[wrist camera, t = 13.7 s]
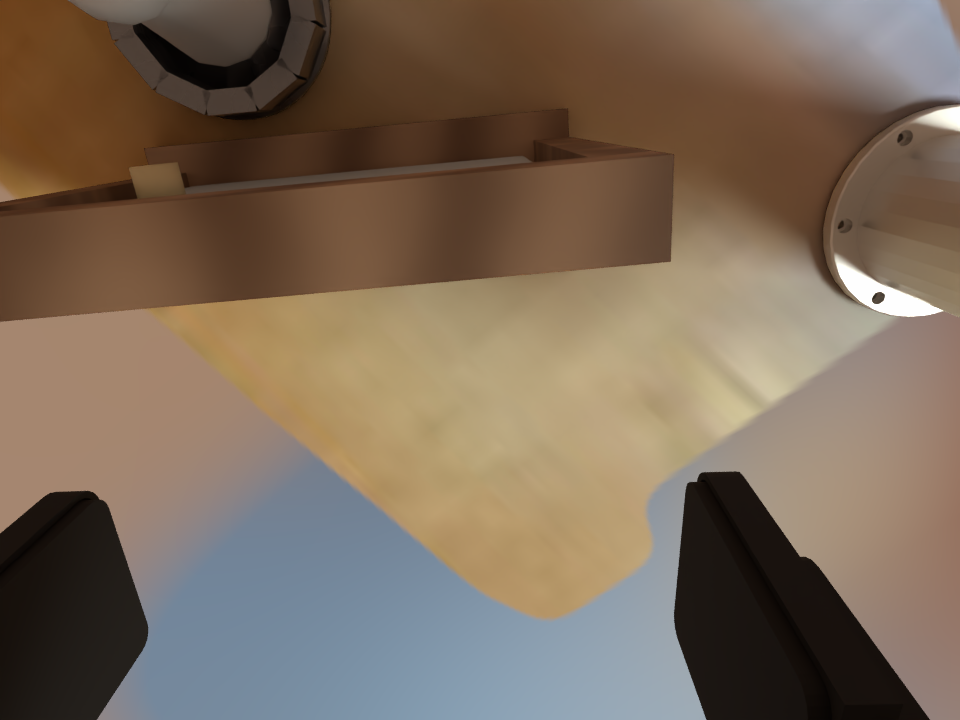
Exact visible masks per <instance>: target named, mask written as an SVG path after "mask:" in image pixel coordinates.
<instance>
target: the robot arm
mask: <svg viewBox="0 0 960 720" xmlns="http://www.w3.org/2000/svg"><path fill="white" fill-rule="evenodd" d="M897 138H898V139H897ZM839 223H840V225H839ZM838 225H839V226H838ZM823 249H824V253H825V257H826V262H827V266H828V268H829V270H830V272H831V274H832V276H833V278H834V280H835V282H836V283H837V284H838V285H839V287H840V288H841V289H842V290H843V291H844V293H845V294H847V295H848V296H849V297H851V298H852V299H853V300H855V301H856V302H857V303H859V304H861V305H863V306H865V307H867V308H869V309H871V310H873V311H877V312H880V313H883V314H886V315H889V316H899V317H916V316H926V315H930V314H934V313H938V312H942V311H945V312H947V313H950V314H953V315H955V316H957V317H960V104H957V105H947V106H936V107H933V108H930V109H926V110H923V111H919V112H916V113H914V114H911V115H909V116H907V117H905V118H903V119H901V120H899V121H897V122H895V123H893V124H892V125H891V126H889V127H888V128H886V129H885V130H883V131H882V132H881V133H879V134H878V135H876V136H875V137H874V138H873V139H872V140H871V141H870V142H869V143H868V144H867V145H866V146H865V147H864V148H863V149H861V150H860V151H859V152H858V154H857V155H856V156H855V158H854V159H853V160H852V161H851V163H850V164H849V165H848V167H847V168H846V169H845V170H844V172H843V174H842V176H841V178H840V180H839V181H838V183H837V185H836V187H835V189H834V191H833V193H832V196H831V199H830V202H829V205H828V207H827V210H826V216H825V222H824V228H823ZM674 623H675V630H676V634H677V638H678V641H679V644H680V647H681V650H682V652H683V655H684V658H685V661H686V663H687V666H688V669H689V672H690V675H691V678H692V680H693V683H694V686H695V689H696V692H697V694H698V697H699V700H700V703H701V706H702V708H703V711H704V714H705V717H706V719H707V720H930V719H929V718H928V717H927V715H926V714H925V712H924V711H923V710H922V708H921V707H920V705H919V704H918V703H917V701H916V700H915V699H914V697H913V696H912V695H911V693H910V692H909V690H908V689H907V688H906V686H905V685H904V684H903V682H902V681H901V680H900V678H899V677H898V675H897V674H896V673H895V671H894V670H893V668H892V667H891V666H890V664H889V663H888V662H887V660H886V659H885V657H884V656H883V655H882V653H881V652H880V651H879V649H878V648H877V646H876V645H875V644H874V642H873V641H872V640H871V638H870V637H869V635H868V634H867V633H866V631H865V630H864V629H863V627H862V626H861V624H860V623H859V622H858V620H857V619H856V618H855V616H854V615H853V614H852V612H851V611H850V609H849V608H848V607H847V605H846V604H845V603H844V601H843V600H842V598H841V597H840V596H839V594H838V593H837V591H836V590H835V589H834V587H833V586H832V585H831V584H830V582H829V581H828V579H827V578H826V576H825V575H824V574H823V572H822V571H821V570H820V568H819V567H818V566H817V565H816V564H815V563H814V562H813V561H812V560H811V559H809V558H807V557H800V556H799V555H798V553H797V552H796V550H795V549H794V548H793V546H792V545H791V543H790V542H789V540H788V539H787V538H786V536H785V535H784V533H783V532H782V530H781V529H780V528H779V526H778V525H777V523H776V522H775V521H774V519H773V518H772V516H771V515H770V514H769V512H768V511H767V509H766V508H765V506H764V505H763V503H762V502H761V501H760V499H759V498H758V496H757V495H756V493H755V492H754V491H753V489H752V488H751V487H750V485H749V483H748V482H747V481H746V479H745V478H744V477H743V475H742V474H741V473H740V472H704V473H701V474H700V475H699V477H698V480H697V482H689V483H688V484H687V487H686V493H685V503H684V514H683V525H682V535H681V546H680V557H679V567H678V577H677V588H676V599H675V610H674ZM147 637H148V624H147V621H146V618H145V615H144V612H143V609H142V606H141V603H140V600H139V597H138V594H137V591H136V588H135V585H134V582H133V579H132V576H131V573H130V570H129V567H128V564H127V561H126V558H125V555H124V552H123V549H122V546H121V543H120V540H119V537H118V534H117V532H116V528H115V525H114V522H113V519H112V516H111V513H110V510H109V507H108V505H107V504H106V503H105V502H104V501H103V500H99V498H98V496H97V495H96V494H94V493H93V492H90V491H71V492H54V493H49V494H48V495H46V496H45V497H43V498H42V499H41V500H40V501H39V502H37V503H36V504H35V505H34V506H33V507H31V508H30V509H29V510H28V511H27V512H26V513H24V514H23V515H22V516H21V517H20V518H18V519H17V520H16V521H15V522H13V523H12V524H11V525H10V526H9V527H8V528H6V529H5V530H4V531H3V532H2V533H0V720H97V719H98V717H99V715H100V714H101V712H102V711H103V709H104V708H105V706H106V705H107V703H108V702H109V700H110V699H111V697H112V696H113V694H114V693H115V691H116V690H117V688H118V687H119V685H120V684H121V682H122V681H123V679H124V678H125V676H126V675H127V673H128V672H129V670H130V669H131V667H132V665H133V664H134V662H135V661H136V659H137V658H138V656H139V655H140V653H141V652H142V650H143V648H144V647H145V644H146V641H147Z"/></svg>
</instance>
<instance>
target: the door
mask: <svg viewBox="0 0 960 720" xmlns="http://www.w3.org/2000/svg"><path fill="white" fill-rule="evenodd" d="M530 162H532V161H530V160H528V159H527V158H525V157H524V156H513V157H503V158H492V159H481V160H470V161H460V162H449V163H438V164H427V165H416V166H406V167H395V168H384V169H373V170H362V171H352V172H341V173H330V174H319V175H308V176H298V177H287V178H276V179H265V180H255V181H244V182H233V183H222V184H211V185H201V186H191V187H187V188H184V184H183V181H182V177H181V173H180V169H179V165H178V162H174V163H163V164H153V165H143V166H135V167H129V171H130V174H131V178H132V181H133V185H134V188H135V191H136V195H137V198H138V199H141V198H152V197H162V196H173V195H184V194H195V193H206V192H216V191H227V190H238V189H249V188H260V187H270V186H281V185H292V184H303V183H314V182H325V181H335V180H346V179H357V178H368V177H379V176H389V175H400V174H411V173H422V172H433V171H443V170H454V169H465V168H476V167H487V166H498V165H508V164H519V163H530Z"/></svg>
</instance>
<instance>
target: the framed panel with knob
mask: <svg viewBox="0 0 960 720" xmlns="http://www.w3.org/2000/svg"><path fill="white" fill-rule="evenodd" d="M144 150H145V154H146V157H147V161H148V165H153V164H163V163H174V162H178V165H179V169H180V173H181V177H182V181H183V184H184V188H187V187H191V186H201V185H211V184H222V183H233V182H244V181H255V180H265V179H276V178H287V177H298V176H308V175H319V174H330V173H341V172H352V171H362V170H373V169H384V168H395V167H406V166H416V165H427V164H438V163H449V162H460V161H470V160H481V159H492V158H503V157H513V156H524V157H525V158H527V159H528V160H530V161H532V162H530V163H519V164H508V165H498V166H487V167H476V168H465V169H454V170H443V171H433V172H422V173H411V174H400V175H389V176H379V177H368V178H357V179H346V180H335V181H325V182H314V183H303V184H292V185H281V186H270V187H260V188H249V189H238V190H227V191H216V192H206V193H195V194H184V195H173V196H162V197H152V198H141V199H138V198H137V195H136V191H135V188H134V185H133V181H132V179H131V180H125V181H120V182H114V183H108V184H102V185H97V186H91V187H85V188H79V189H74V190H68V191H62V192H56V193H51V194H45V195H39V196H34V197H28V198H22V199H16V200H11V201H5V202H0V321H12V320H23V319H34V318H46V317H57V316H66V315H67V316H68V315H79V314H90V313H101V312H112V311H124V310H135V309H146V308H157V307H169V306H180V305H191V304H202V303H213V302H225V301H236V300H247V299H258V298H269V297H281V296H292V295H303V294H314V293H325V292H337V291H348V290H359V289H370V288H381V287H392V286H404V285H415V284H426V283H437V282H448V281H460V280H471V279H482V278H493V277H504V276H516V275H527V274H538V273H549V272H560V271H572V270H583V269H594V268H605V267H616V266H628V265H639V264H650V263H661V262H671V235H672V204H673V173H674V154H668V153H662V152H656V151H650V150H644V149H638V148H632V147H626V146H620V145H614V144H608V143H602V142H595V141H589V140H583V139H577V138H571V137H569V128H568V109H558V110H547V111H536V112H526V113H515V114H504V115H494V116H483V117H472V118H462V119H451V120H441V121H430V122H419V123H409V124H398V125H387V126H377V127H366V128H355V129H345V130H334V131H323V132H313V133H302V134H291V135H281V136H270V137H260V138H249V139H238V140H228V141H217V142H206V143H196V144H185V145H174V146H164V147H153V148H144Z"/></svg>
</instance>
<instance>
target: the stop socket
mask: <svg viewBox="0 0 960 720" xmlns="http://www.w3.org/2000/svg"><path fill="white" fill-rule="evenodd" d="M270 3H271V8H272V17H271V21H270V26H269V30H268V34H267V39H266V40H265V42H264V43H263V44H262V45H261V46H260V48H259V49H258V50H257V51H256V52H255V54H254V55H253V56H252V57H251V58H249V59H247V60H244V61H241V62H238V63H236V64H233V65H230V66H226V67H224V66H217V65H211V64H204V63H199V62H197V61H196V60H194V59H193V58H191V57H190V56H188V55H187V54H185V53H184V52H182V51H181V50H179V49H178V48H177V47H175V46H174V45H172V44H171V43H170V42H168V41H167V40H165V39H164V38H162V37H161V36H160V35H158V34H157V33H155V32H154V31H152V30H151V29H149V28H148V27H147V26H145V25H144V24H142V23H138V24H136V25H128V24H122V23H115V22H108V21H107V23H108V27H109V30H110V34H111V37H112V40H115V41H117V42H115V43H114V44H115V45H116V46H117V48H118V49H119V50H120V51H121V52H122V54H123V55H124V56H125V57H126V58H127V60H128V61H129V62H130V63H131V65H132V66H133V67H134V68H135V69H136V71H137V72H138V73H139V74H140V75H141V77H142V78H143V79H144V80H145V81H146V83H147V84H148V85H149V86H150V87H151V89H152V90H156V93H158V94H161V95H163V96H165V97H167V98H169V99H171V100H173V101H176V102H178V103H180V104H182V105H184V106H186V107H189V108H191V109H193V110H195V111H197V112H199V113H201V114H204V115H208V116H217V117H221V118H226V119H235V120H251V119H258V118H264V117H267V116H270V115H273V114H276V113H278V112H280V111H282V110H284V109H286V108H288V107H289V106H291V105H292V104H293V103H295V102H296V101H297V100H299V99H300V98H301V97H302V96H303V95H304V94H305V93H306V92H307V90H308V89H309V88H310V87H311V85H312V84H313V83H314V81H315V79H316V78H317V76H318V74H319V72H320V71H321V68H322V66H323V63H324V61H325V58H326V54H327V51H328V47H329V41H330V34H331V9H330V0H270Z"/></svg>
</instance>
